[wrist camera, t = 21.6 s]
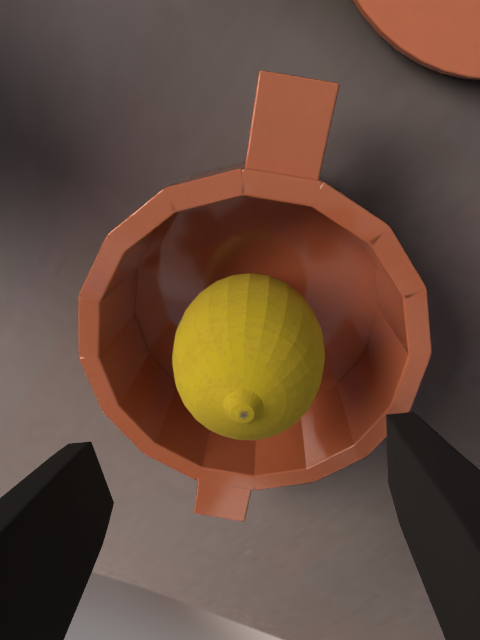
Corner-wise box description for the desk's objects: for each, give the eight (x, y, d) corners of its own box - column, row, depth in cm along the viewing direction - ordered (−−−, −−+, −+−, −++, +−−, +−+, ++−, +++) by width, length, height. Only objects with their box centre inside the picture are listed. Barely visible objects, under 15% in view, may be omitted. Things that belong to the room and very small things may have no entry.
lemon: (255, 383, 21) (246, 515, 13) (169, 311, 20) (108, 413, 12) (339, 309, 19) (383, 416, 12) (250, 224, 18) (236, 284, 10)
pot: (453, 118, 16) (526, 110, 11) (339, 472, 23) (356, 554, 19) (131, 65, 16) (75, 35, 12) (116, 435, 23) (78, 508, 19)
